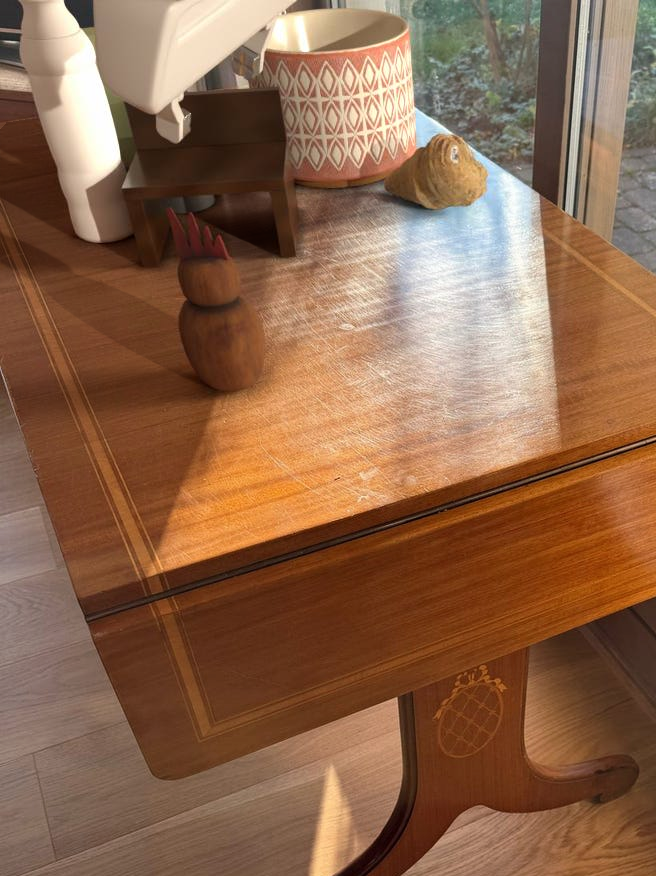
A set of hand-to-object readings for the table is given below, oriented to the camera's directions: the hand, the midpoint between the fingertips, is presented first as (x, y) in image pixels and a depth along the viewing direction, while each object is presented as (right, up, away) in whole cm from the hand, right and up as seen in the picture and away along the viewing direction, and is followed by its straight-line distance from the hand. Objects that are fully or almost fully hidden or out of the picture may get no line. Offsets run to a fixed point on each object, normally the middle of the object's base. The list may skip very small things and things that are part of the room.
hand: (211, 102), depth 70 cm
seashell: (+14, +11, +42) cm, 46 cm away
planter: (+2, +21, +52) cm, 56 cm away
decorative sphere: (-25, +21, +54) cm, 63 cm away
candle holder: (-15, +13, +45) cm, 49 cm away
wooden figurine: (-2, -16, +16) cm, 23 cm away
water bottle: (-22, +7, +40) cm, 46 cm away
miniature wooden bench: (-9, +6, +37) cm, 39 cm away
